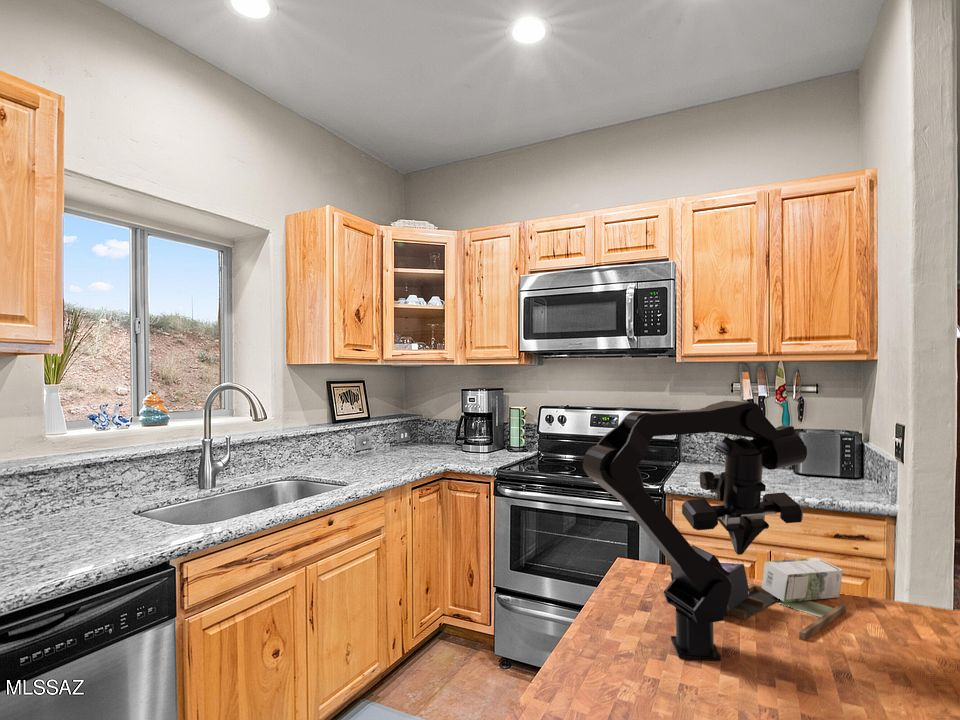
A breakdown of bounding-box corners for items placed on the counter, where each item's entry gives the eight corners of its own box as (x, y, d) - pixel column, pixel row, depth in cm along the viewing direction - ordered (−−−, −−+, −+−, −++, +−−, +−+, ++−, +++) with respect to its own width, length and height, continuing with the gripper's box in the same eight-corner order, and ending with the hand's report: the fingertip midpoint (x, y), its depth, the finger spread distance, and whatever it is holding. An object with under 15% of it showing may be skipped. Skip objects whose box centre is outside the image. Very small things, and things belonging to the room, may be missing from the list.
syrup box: (760, 588, 110) (814, 582, 114) (784, 603, 104) (840, 597, 109) (764, 560, 109) (818, 556, 114) (789, 575, 104) (844, 570, 108)
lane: (804, 640, 91) (804, 633, 92) (714, 608, 104) (714, 602, 104) (846, 611, 102) (846, 604, 102) (760, 585, 115) (759, 579, 115)
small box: (693, 558, 114) (745, 562, 106) (699, 591, 113) (751, 597, 105) (669, 570, 106) (723, 575, 99) (675, 605, 105) (729, 613, 98)
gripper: (771, 449, 101) (766, 524, 105) (671, 457, 101) (669, 532, 105) (808, 477, 90) (800, 559, 94) (696, 486, 90) (693, 568, 94)
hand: (738, 553), depth 97 cm, fingers closed
